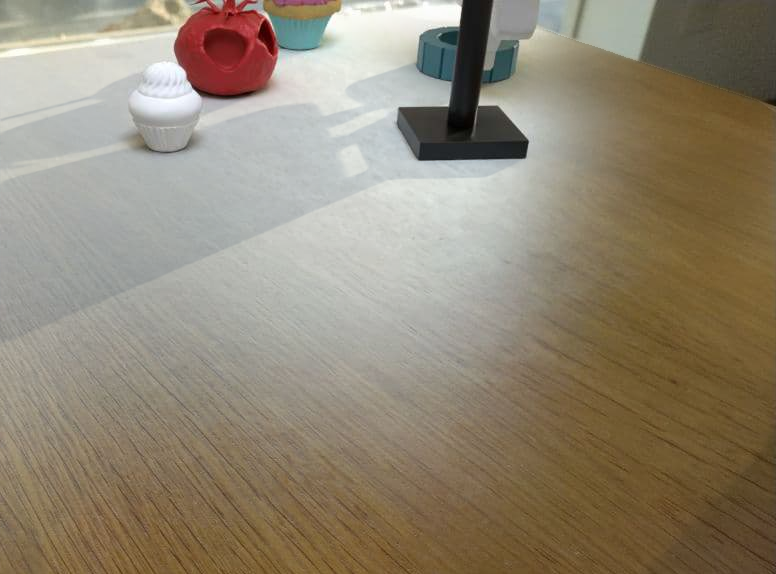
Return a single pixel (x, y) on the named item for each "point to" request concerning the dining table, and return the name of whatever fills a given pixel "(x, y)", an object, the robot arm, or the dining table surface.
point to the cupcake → (300, 21)
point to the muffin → (165, 107)
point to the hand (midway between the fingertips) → (477, 63)
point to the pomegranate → (227, 48)
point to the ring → (441, 52)
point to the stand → (464, 105)
